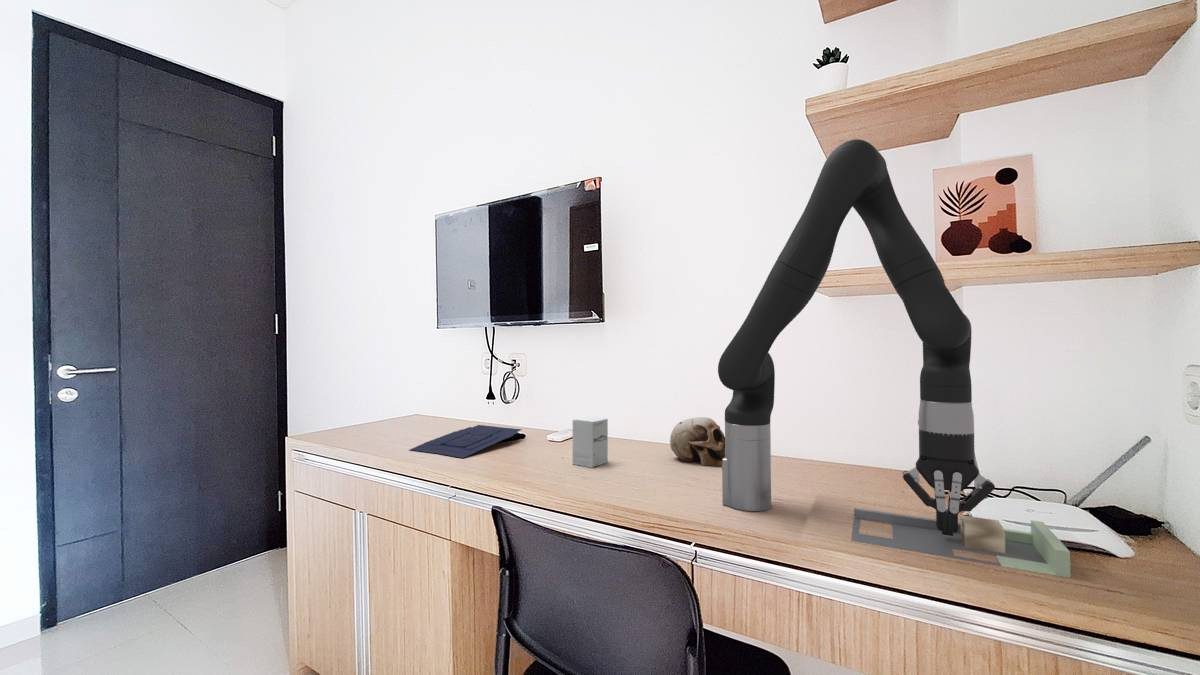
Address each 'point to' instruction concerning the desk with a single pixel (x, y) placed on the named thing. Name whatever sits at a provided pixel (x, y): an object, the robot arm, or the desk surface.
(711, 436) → the human skull
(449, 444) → the navy blue folder
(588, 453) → the supplement box
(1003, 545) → the maple block
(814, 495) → the desk surface
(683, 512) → the desk surface
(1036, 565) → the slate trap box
